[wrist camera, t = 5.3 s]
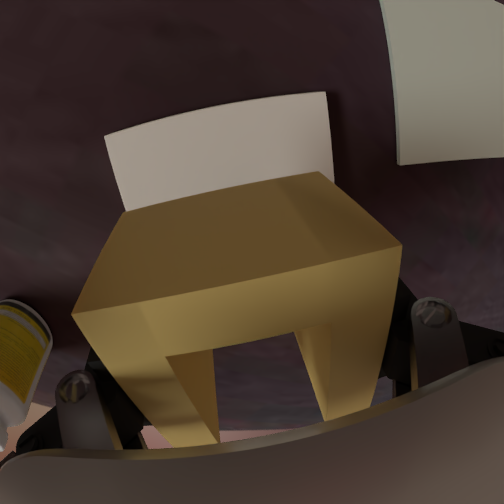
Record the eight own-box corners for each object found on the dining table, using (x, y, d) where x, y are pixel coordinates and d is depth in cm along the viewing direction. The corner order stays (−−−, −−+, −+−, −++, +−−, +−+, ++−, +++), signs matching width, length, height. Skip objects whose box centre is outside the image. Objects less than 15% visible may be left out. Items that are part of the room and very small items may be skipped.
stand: (109, 133, 15) (59, 158, 9) (319, 91, 15) (375, 95, 10) (165, 303, 21) (156, 375, 15) (332, 269, 21) (370, 331, 16)
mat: (370, -37, 11) (373, -38, 11) (503, 6, 11) (506, 6, 11) (396, 163, 18) (400, 165, 18) (513, 155, 18) (516, 156, 18)
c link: (123, 212, 9) (70, 314, 5) (318, 171, 10) (402, 245, 5) (178, 348, 13) (177, 451, 8) (325, 317, 13) (368, 412, 9)
